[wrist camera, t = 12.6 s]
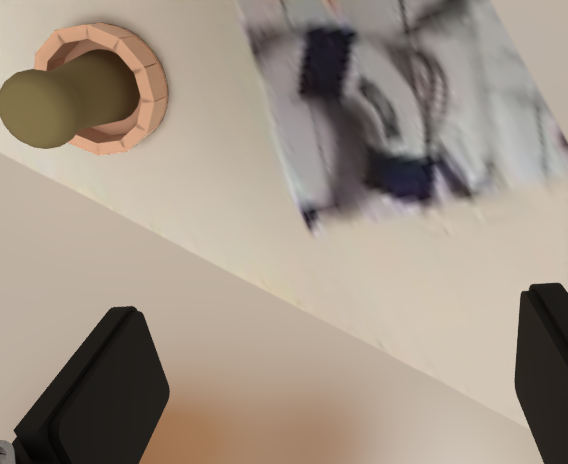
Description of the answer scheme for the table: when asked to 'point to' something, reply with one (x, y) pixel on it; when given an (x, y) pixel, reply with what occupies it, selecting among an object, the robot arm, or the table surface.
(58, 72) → the cork
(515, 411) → the table surface
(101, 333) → the robot arm
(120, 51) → the copper faceted bowl
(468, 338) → the table surface
